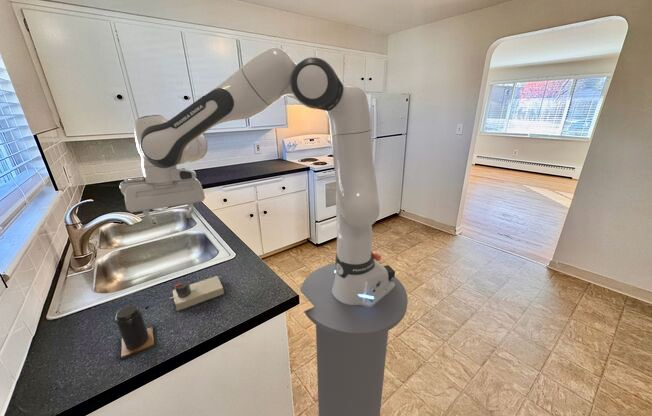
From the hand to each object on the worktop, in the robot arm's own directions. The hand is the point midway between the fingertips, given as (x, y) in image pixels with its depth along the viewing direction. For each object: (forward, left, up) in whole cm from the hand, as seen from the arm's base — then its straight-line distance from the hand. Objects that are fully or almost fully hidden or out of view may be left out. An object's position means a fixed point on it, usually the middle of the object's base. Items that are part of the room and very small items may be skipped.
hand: (172, 220), depth 81 cm
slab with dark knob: (-2, +5, -26) cm, 26 cm away
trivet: (+15, +16, -26) cm, 34 cm away
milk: (+2, -93, -26) cm, 97 cm away
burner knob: (+2, +5, -23) cm, 24 cm away
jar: (+15, +16, -25) cm, 33 cm away
